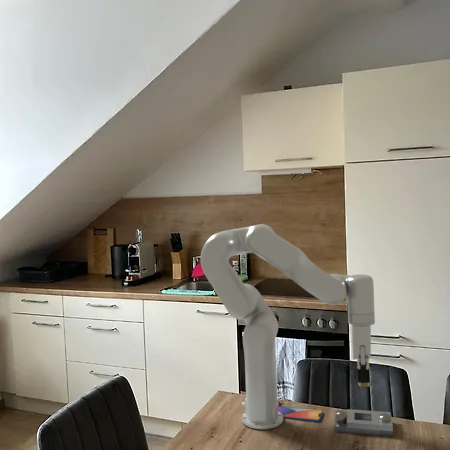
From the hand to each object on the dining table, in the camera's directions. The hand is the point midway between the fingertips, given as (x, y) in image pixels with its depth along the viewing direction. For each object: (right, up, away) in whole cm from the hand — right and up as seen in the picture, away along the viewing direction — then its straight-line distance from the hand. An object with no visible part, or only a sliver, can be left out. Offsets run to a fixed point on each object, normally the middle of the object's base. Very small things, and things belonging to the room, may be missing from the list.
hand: (363, 379), depth 144 cm
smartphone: (-18, -15, +10) cm, 25 cm away
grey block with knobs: (0, -14, +1) cm, 14 cm away
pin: (0, -2, 0) cm, 2 cm away
